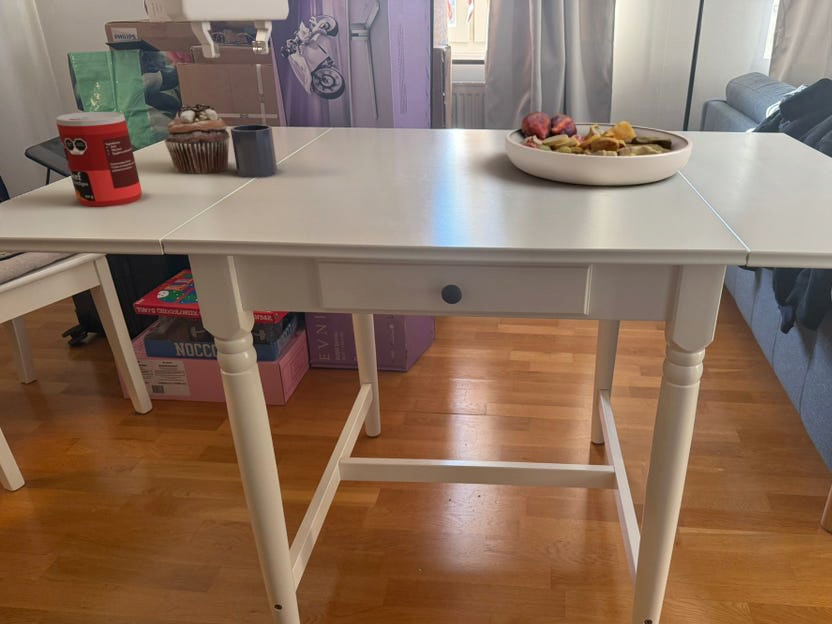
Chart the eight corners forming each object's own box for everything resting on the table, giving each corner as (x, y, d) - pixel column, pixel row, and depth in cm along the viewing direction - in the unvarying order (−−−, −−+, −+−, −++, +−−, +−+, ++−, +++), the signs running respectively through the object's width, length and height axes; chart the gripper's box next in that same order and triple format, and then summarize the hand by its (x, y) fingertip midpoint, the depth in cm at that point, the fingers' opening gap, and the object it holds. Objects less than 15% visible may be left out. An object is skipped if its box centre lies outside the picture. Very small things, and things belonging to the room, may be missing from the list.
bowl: (714, 165, 114) (723, 117, 111) (638, 202, 93) (646, 144, 89) (562, 144, 130) (565, 101, 126) (467, 171, 109) (467, 120, 105)
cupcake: (216, 160, 115) (205, 97, 110) (244, 169, 109) (234, 103, 104) (160, 168, 109) (146, 103, 104) (187, 179, 103) (173, 110, 98)
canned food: (78, 197, 93) (55, 113, 88) (141, 190, 97) (123, 110, 91) (78, 211, 87) (53, 122, 82) (145, 203, 91) (125, 118, 85)
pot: (229, 175, 105) (222, 128, 102) (257, 168, 110) (251, 123, 107) (258, 180, 103) (251, 132, 99) (285, 172, 107) (279, 126, 104)
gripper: (260, -50, 101) (272, 51, 108) (142, -61, 85) (164, 58, 92) (292, -51, 98) (302, 53, 105) (177, -62, 82) (197, 61, 89)
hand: (237, 55), depth 98 cm, fingers open, 8 cm apart
